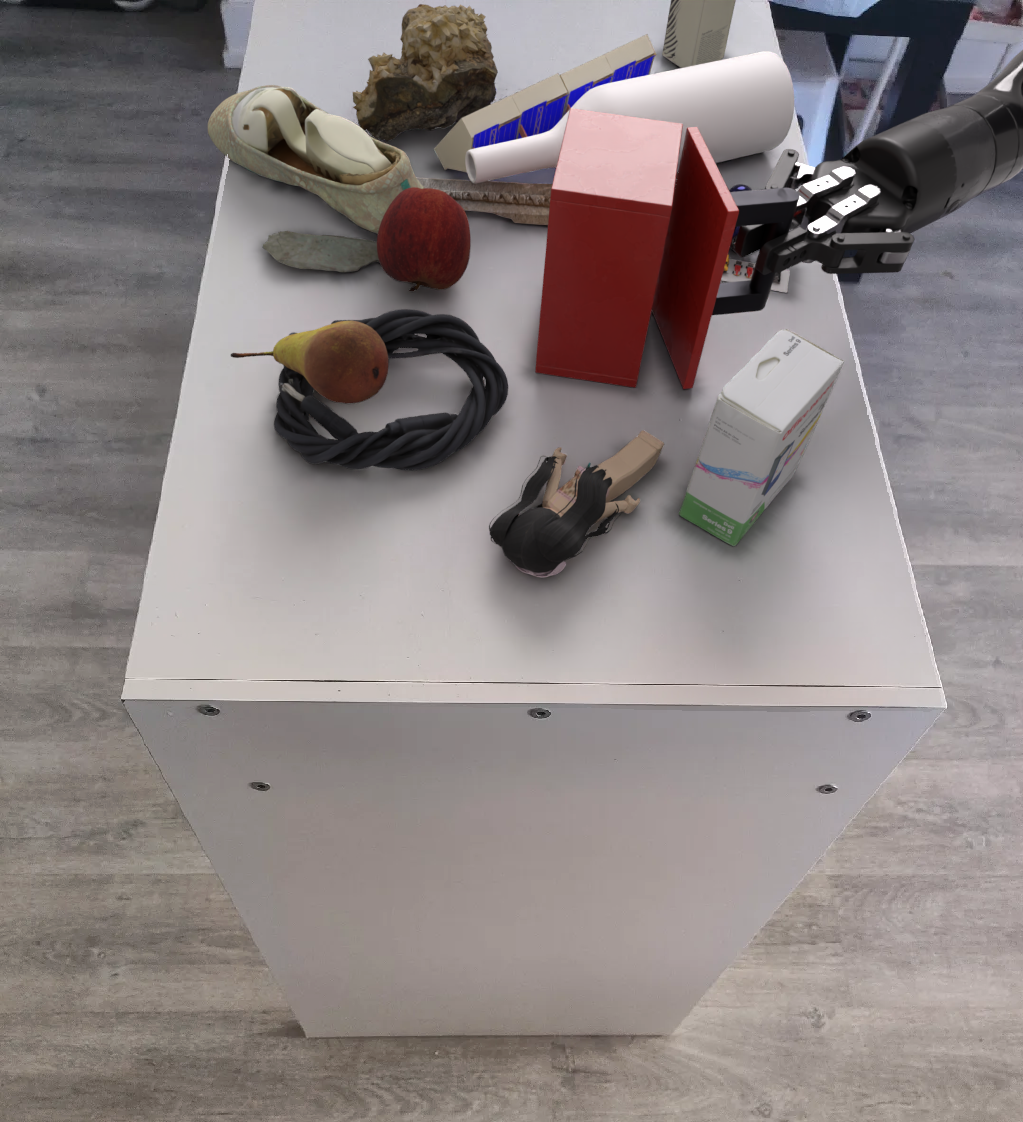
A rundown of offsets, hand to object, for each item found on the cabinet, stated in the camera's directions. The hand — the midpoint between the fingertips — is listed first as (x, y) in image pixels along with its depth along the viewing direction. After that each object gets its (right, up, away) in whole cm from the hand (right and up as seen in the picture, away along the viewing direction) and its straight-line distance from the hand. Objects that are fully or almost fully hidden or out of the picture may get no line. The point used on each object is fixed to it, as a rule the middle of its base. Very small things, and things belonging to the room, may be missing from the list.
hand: (751, 251), depth 72 cm
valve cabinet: (-10, -3, +11) cm, 15 cm away
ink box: (-1, -17, +3) cm, 17 cm away
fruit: (-26, -9, -3) cm, 28 cm away
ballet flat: (-33, +15, +19) cm, 42 cm away
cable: (-26, -10, +5) cm, 28 cm away
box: (+2, +34, +33) cm, 47 cm away
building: (-14, +24, +22) cm, 36 cm away
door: (-1, -3, +11) cm, 11 cm away
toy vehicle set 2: (+3, +5, +16) cm, 17 cm away
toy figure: (-12, -18, +1) cm, 22 cm away
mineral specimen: (-25, +24, +26) cm, 43 cm away
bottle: (+7, +23, +23) cm, 33 cm away
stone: (-32, +8, +15) cm, 36 cm away
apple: (-24, +3, +13) cm, 28 cm away
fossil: (-18, +12, +19) cm, 29 cm away
